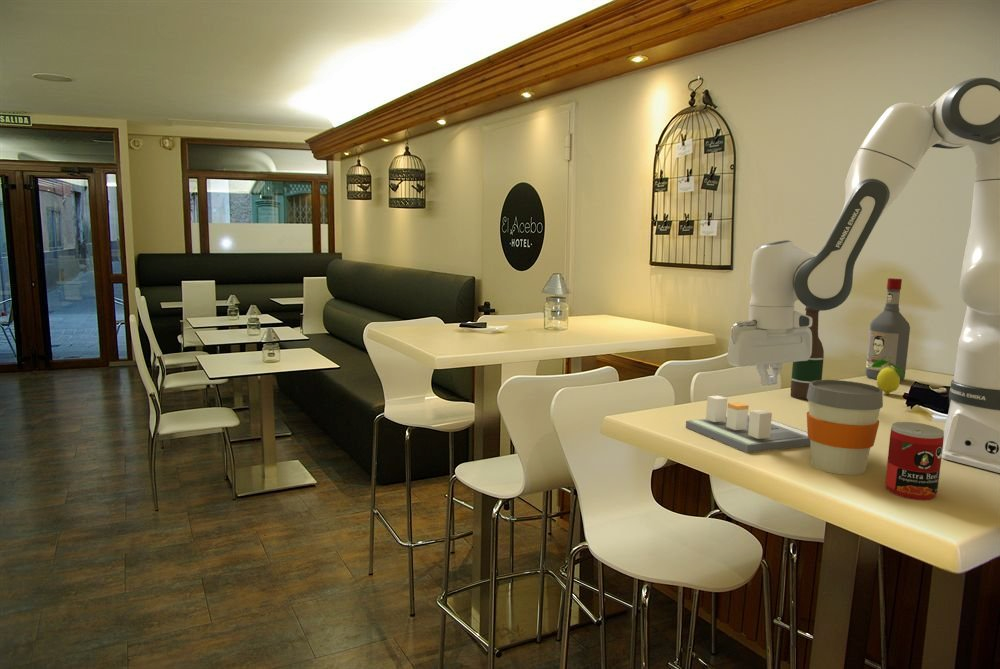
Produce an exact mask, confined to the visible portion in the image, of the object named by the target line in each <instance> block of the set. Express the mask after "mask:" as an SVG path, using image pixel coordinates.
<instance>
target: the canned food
mask: <svg viewBox="0 0 1000 669" xmlns="http://www.w3.org/2000/svg"><path fill="white" fill-rule="evenodd" d="M943 430H944V429H941V428H939V427H936V426H935V425H930V424H926V423H920V422H913V421H898V422H894V423H892V424H891V428H890V433H889V444H888V453H887V462H886V463H887V464H886V472H885V481H884V482H885V487H886V489H887V490H888V491H889V492H890V493H891V494H894V495H897V496H899V497H902V498H905V499H911V500H919V501H920V500H921V501H926V500H932V499H934V498H935V497H936V495H937V493H938V490H939V481H940V474H941V465H942V459H943V458H942V450H943V440H944V431H943Z"/></svg>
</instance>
